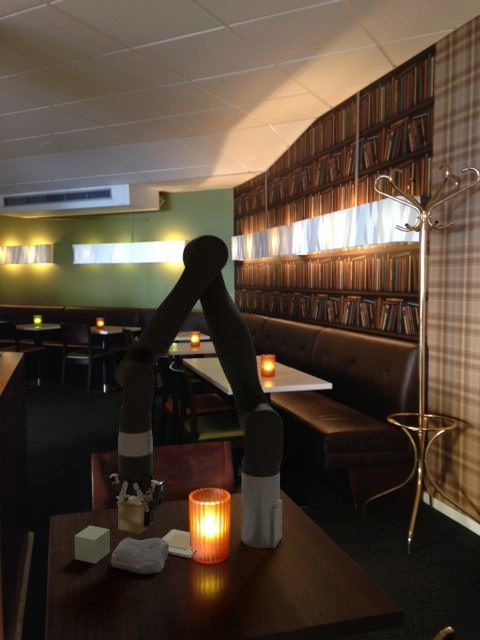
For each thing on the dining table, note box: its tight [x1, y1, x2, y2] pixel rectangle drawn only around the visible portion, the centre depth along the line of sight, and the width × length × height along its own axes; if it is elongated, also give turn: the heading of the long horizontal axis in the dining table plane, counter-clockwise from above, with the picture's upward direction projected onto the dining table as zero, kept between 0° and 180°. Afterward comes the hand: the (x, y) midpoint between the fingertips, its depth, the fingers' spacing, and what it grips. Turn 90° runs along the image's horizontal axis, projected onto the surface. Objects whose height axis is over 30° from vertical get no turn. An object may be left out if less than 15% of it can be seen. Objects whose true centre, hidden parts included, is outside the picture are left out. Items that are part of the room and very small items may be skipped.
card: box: [161, 528, 195, 559], centre depth 126 cm, size 10×10×1 cm
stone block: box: [110, 536, 169, 575], centre depth 118 cm, size 12×5×10 cm
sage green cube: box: [74, 525, 111, 564], centre depth 121 cm, size 6×6×6 cm
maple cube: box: [117, 495, 147, 535], centre depth 117 cm, size 6×6×6 cm
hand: (135, 523), depth 118 cm, fingers closed on maple cube, 5 cm apart
